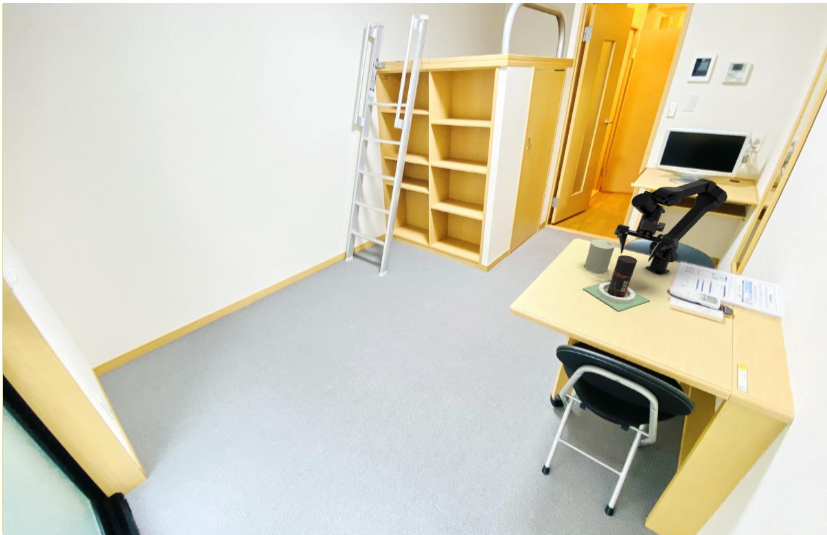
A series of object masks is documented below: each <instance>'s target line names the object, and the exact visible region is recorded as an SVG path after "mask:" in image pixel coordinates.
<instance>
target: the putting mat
mask: <svg viewBox="0 0 827 535" xmlns="http://www.w3.org/2000/svg"><path fill="white" fill-rule="evenodd" d="M610 282H611V279H610V280H606V281H604V282H600V283H596V284H593V285H590V286H586V287H583V288H582V290H583V291H585V292H587V293H588V294H589V295H591V296H593V297H594V298H596V299H597V300H599V301H600V302H602V303H603V304H606V305H607V306H608V307H609V308H612V309H613V310H614V311H616V312H617V313H618V312H623V311H624V310H628V309H631V308H635V307H637V306H640V305H644V304H646V303H650V301H651V300H650V299H649V298H646V297H645V296H643V295H642V294H639V293H638V292H636V291H635V290H633V289H632V288H630V287H628V289H627V292H626V294H625V297H624V298H621V297H615V296H612V295H610V294H608V293H607V291H608V288H609V285H610Z"/></svg>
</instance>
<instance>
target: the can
mask: <svg viewBox="0 0 827 535" xmlns="http://www.w3.org/2000/svg"><path fill="white" fill-rule="evenodd" d="M615 248H616V246H615V244H614V243H613V242H611V241H609V240H606V239H598V238H597V239H592V240H591V241H590V246H589V249H588V253H587V255H586V260H585V263H584V266H583V267H584V268H585V270H587V271H588V272H589V271H590V272H592V273H597V274H605V273H607V272H608V271H609V270H608V269H609V265H610V263H611V259H612V256H613V252H614V249H615Z"/></svg>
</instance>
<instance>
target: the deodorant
mask: <svg viewBox="0 0 827 535" xmlns="http://www.w3.org/2000/svg"><path fill="white" fill-rule="evenodd" d="M637 263H638V259H637V258H635V257H633V256H631V255H624V254H621V255H619V256H618V258H617V261H616V263H615V267H614V269H613V273H612V275H611V278H610V280H611V282H610V285H609V288H608V291H607V293H608V294H610V295H612V296H615V297H621V298H624V297H625V294H626V292H627V289H628V288H629V286H630V284H631V281H632V280H631V279H632V277H633V274H634V271H635V269H636V266H637Z"/></svg>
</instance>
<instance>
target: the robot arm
mask: <svg viewBox="0 0 827 535" xmlns="http://www.w3.org/2000/svg"><path fill="white" fill-rule="evenodd" d="M695 195H696V197H695V202H694V205H693V206H692V207H691V208H690V209H689V210H688V211H687V212H686V213H685V215H683V216H682V218H680V220H679V221H677V223H676V224H674V226H673V227H672V228H671V229H670V230H669V231H668V232H666V233H665V234H662V233H663V232H664V230H665V227H666V225H667V224H666V223H665V222H660V219H661V216H662V214H665V213H666V210H665V208H664V206H666V207H669V208H670V207H673V206H675V205H677V204H680V202H681V200H682V199H686V198H689V197H691V196H695ZM727 199H728V194H727V191H725V190H724V189H723V188H722V187H721V186H719V185H717V183H716V182H715V181H714V180H710V179H707V178H699V179H698V180H695V181H691V182H688V183H685V184H681V185H678V186H660V187H658V188H657V189H656V190H654V191H652V192H651V191H649V190H645V191H643V192H641V193H638V194H636V195H634V196H633V198H632V200H631V201H630V202H631V206H633V208H635V209H636V210H637V211H638V212H639V213H640V214H642V215H641V217H640V220H639V221H638V223H637V224H638V225H637V227H636V230H632V229H630V227H631V226H629V225H624V224H621V223H619V224H617V226H616V227H615V230H614V233H613V234H614V235H616V238H618V239H619V245H620V246H619V247H620V254H621V255H623V252H624V250H625V246H626V242H627V238H628V236H631V237H635V238H639V239H642V240H646V241H650V244H649V249H648V250H649V257H648V260H647V263H648V262H650V261H651V262H650V265H648V266H645V268H644V269H646V270H648V271H650V272H652V273H654V274H656V275H663V274H666V273H670V269H667V268H668V265H669V263H675V262H676V261H677V259H678V258H679V255H678V254H677V252H676V251H678V250H677V249H679V243H680V240H681V239H682V238H684V236H685V235H686V234H687V233H688V232H689V231H690V230H691V229H692V228H693V227H694V226H695V225H696V224H697V223H698V222H699V221H700V220H701V219H702V218H703V217H704V216H705V215H706V214H707V213H708V212H710V211H711V212H712V211H714V210H716V209H718V208H719V207H721V205H723V204H724V203H726V201H728V200H727ZM657 232H659V234H658V235H657V236H655V234H656V233H657ZM660 232H661V233H660Z"/></svg>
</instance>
